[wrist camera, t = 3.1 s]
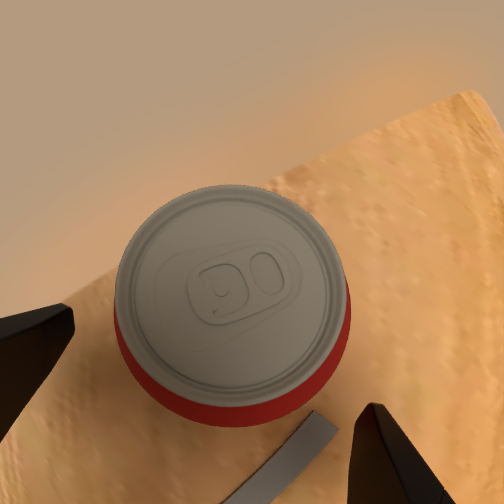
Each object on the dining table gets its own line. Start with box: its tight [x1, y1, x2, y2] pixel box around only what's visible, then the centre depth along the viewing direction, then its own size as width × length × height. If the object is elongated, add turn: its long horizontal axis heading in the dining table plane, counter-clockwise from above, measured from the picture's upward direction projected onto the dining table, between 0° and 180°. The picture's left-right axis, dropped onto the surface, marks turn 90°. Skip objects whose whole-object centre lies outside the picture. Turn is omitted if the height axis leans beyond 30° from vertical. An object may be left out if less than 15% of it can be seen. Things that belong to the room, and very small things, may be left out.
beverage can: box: [114, 185, 351, 427], centre depth 12 cm, size 7×7×12 cm
